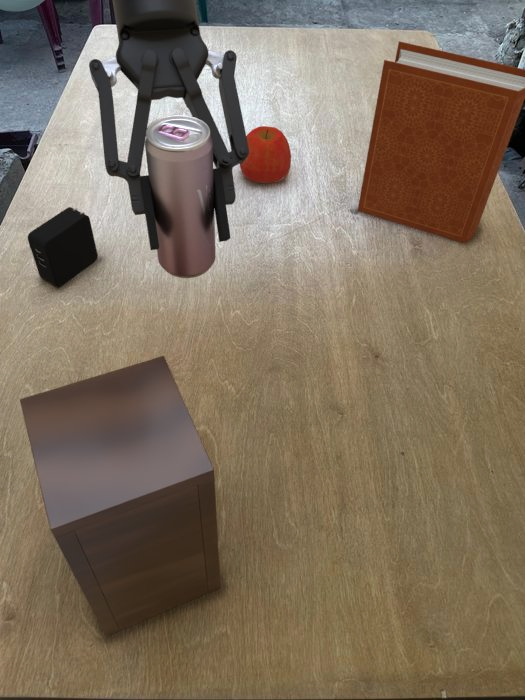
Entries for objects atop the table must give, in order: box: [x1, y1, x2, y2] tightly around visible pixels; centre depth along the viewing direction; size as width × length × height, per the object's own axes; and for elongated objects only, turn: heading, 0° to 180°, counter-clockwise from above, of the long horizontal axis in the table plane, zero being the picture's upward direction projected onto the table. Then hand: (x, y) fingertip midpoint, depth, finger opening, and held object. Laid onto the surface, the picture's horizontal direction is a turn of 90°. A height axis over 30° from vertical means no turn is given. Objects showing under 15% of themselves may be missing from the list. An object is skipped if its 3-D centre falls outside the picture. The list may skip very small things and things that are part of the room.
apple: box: [239, 125, 292, 184], centre depth 128 cm, size 11×11×11 cm
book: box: [357, 40, 525, 244], centre depth 113 cm, size 23×8×30 cm, turn 65°
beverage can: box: [144, 114, 216, 279], centre depth 60 cm, size 6×6×15 cm
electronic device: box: [27, 206, 99, 288], centre depth 107 cm, size 4×10×10 cm, turn 145°
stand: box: [19, 355, 221, 637], centre depth 66 cm, size 14×14×28 cm
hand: (190, 243), depth 59 cm, fingers closed on beverage can, 6 cm apart
